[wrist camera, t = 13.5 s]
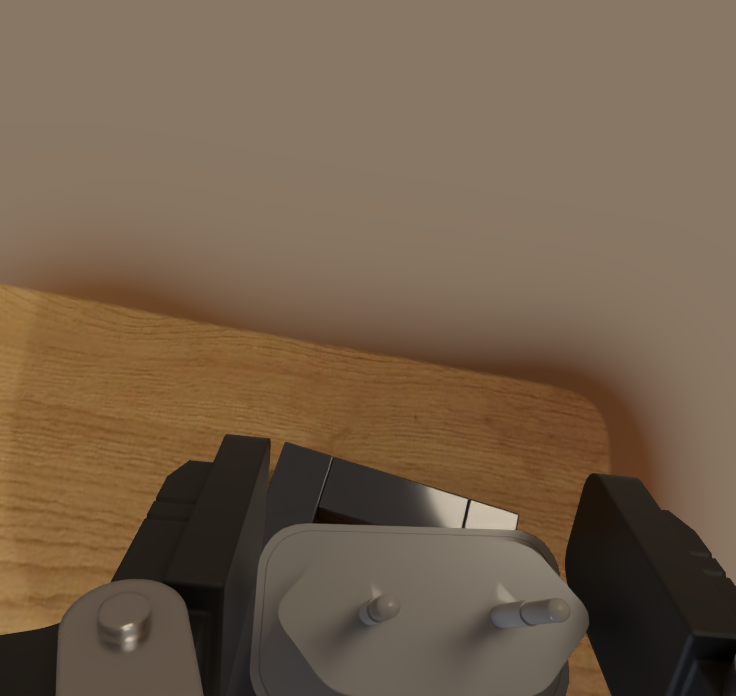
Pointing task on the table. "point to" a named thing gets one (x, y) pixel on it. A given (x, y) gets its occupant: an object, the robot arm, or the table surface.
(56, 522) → the table surface
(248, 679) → the block
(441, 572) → the power adapter
